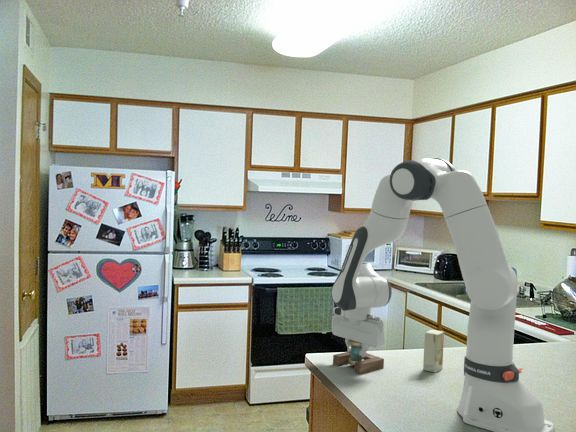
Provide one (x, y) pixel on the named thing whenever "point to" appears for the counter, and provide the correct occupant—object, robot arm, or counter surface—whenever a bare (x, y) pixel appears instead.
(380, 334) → the robot arm
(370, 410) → the counter surface
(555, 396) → the counter surface
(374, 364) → the notched board
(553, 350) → the counter surface
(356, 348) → the thread spool
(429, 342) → the skincare box
